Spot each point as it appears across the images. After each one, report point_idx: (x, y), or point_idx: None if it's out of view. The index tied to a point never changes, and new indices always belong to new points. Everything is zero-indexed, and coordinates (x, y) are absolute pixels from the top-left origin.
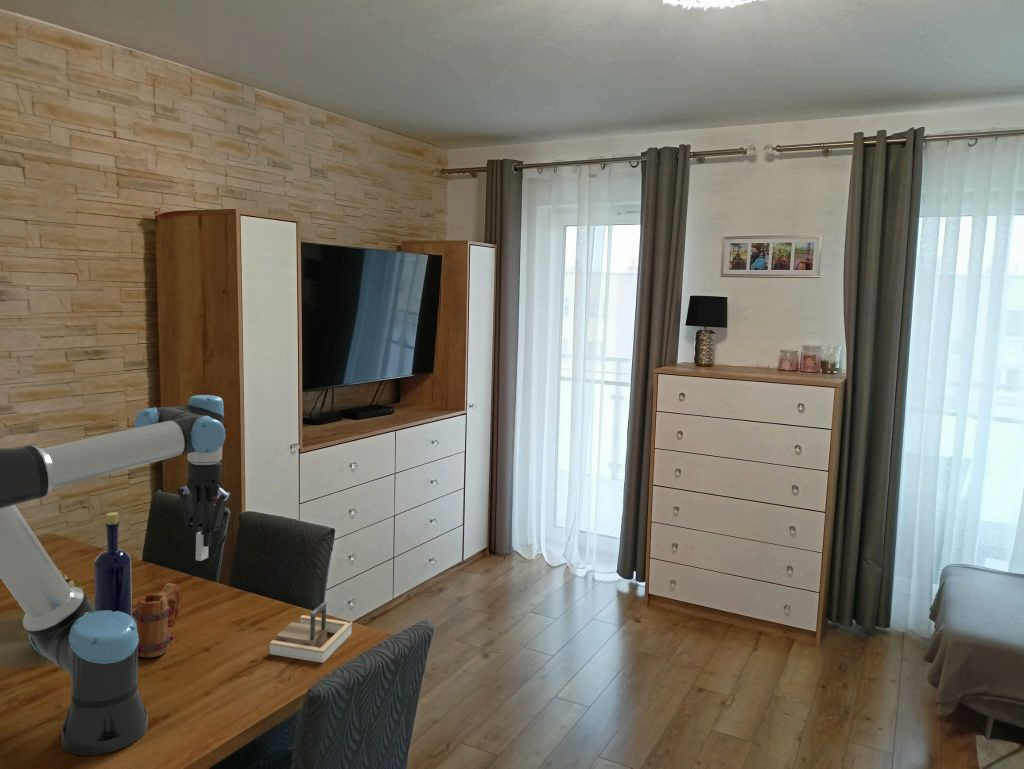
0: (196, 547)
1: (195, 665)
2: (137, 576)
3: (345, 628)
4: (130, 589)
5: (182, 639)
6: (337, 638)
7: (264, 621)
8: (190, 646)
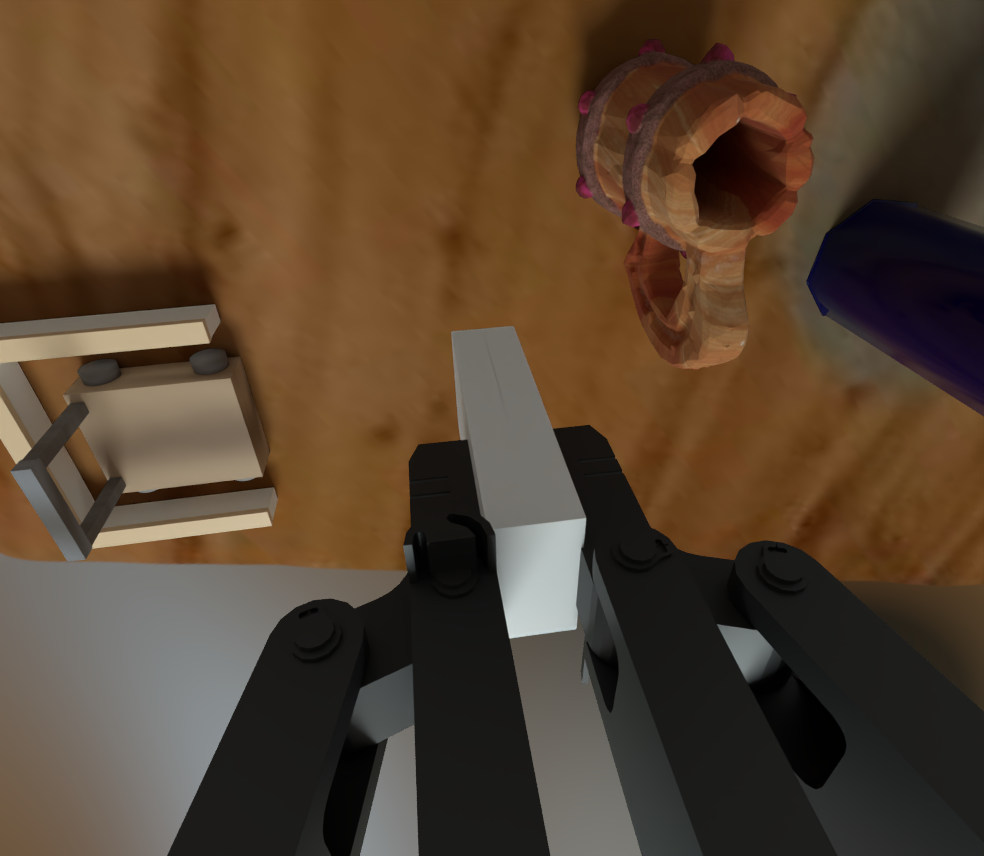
0: (533, 396)
1: (406, 109)
2: (923, 527)
3: None
4: (908, 339)
5: (586, 271)
6: (13, 452)
7: None
8: (526, 238)
